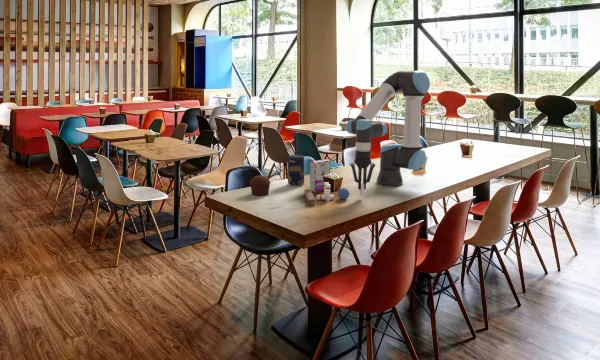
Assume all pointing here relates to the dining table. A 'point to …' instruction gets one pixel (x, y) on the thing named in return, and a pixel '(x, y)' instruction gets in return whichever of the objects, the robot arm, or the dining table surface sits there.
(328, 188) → the pin
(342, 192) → the ball
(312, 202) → the back wall
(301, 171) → the canister
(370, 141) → the robot arm
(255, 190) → the muffin
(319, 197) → the front pin
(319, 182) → the candy bar box
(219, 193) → the dining table surface
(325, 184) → the pin
